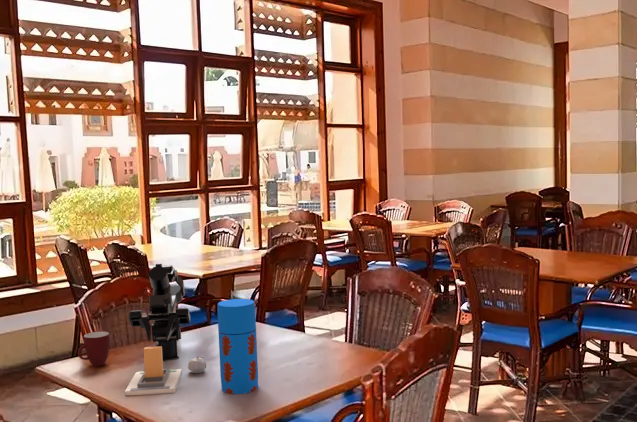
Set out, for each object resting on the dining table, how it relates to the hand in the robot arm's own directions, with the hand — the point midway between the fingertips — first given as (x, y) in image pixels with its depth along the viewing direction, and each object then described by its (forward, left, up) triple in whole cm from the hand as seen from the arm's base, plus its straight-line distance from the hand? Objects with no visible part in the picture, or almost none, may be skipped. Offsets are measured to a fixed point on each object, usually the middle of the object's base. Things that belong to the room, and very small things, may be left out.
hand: (158, 340), depth 215 cm
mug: (+17, -20, -11) cm, 29 cm away
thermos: (-18, +26, -11) cm, 33 cm away
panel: (+3, +9, -11) cm, 14 cm away
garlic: (-11, +5, -11) cm, 16 cm away
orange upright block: (+3, +9, -9) cm, 13 cm away
